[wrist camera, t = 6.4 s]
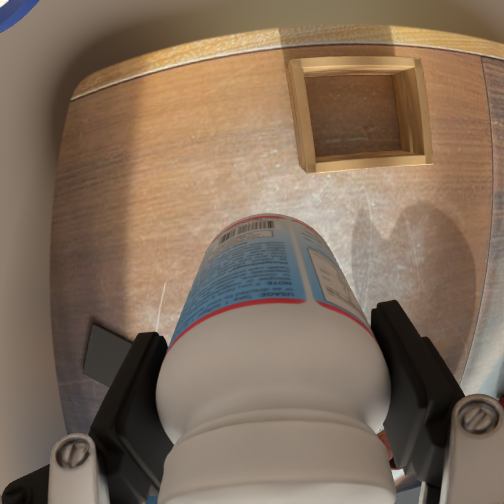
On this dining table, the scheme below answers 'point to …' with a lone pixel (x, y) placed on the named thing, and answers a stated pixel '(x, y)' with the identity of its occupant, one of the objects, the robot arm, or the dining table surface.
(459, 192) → the dining table surface
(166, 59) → the dining table surface
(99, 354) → the plate
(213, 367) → the pill bottle
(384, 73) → the crate
